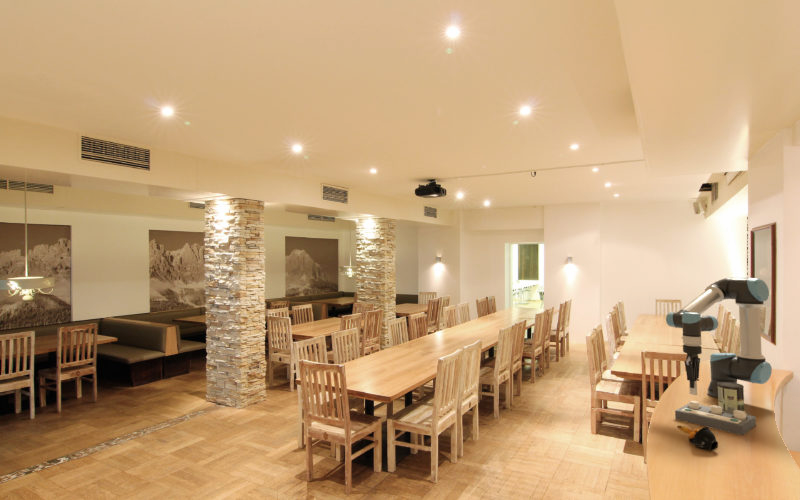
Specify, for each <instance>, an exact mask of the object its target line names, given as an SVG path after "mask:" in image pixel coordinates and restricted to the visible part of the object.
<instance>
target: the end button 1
mask: <svg viewBox="0 0 800 500" xmlns="http://www.w3.org/2000/svg"><path fill="white" fill-rule="evenodd" d="M688 404H689V408H692V409H697V410H699V409H700V405H701V404H700V402H699V401H698V400H697V401H696V400H689V401H688Z"/></svg>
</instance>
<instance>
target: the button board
mask: <svg viewBox="0 0 800 500" xmlns="http://www.w3.org/2000/svg"><path fill="white" fill-rule="evenodd" d="M674 412H675V413H674V414H675V418H674V419H675V420H678V421H682V422H686V423H689V424H690V423H691V424H694V425H698V424H699V425H698V426H702V425H703V426H702V427H706V426H707V427H708V428H709V429H715V430H720V431H723V432H727V433H731V434H735V435H739V436H744V435H745V434H747V433H748V432H749V431H751V430H752V429H753V428H755V427H756V426H757V423H756V422H757V420H756V416H755V415H750V414H746V420H742V419H737V418H734V412H732V411H727V410H722V414H721V415H719V414H715V413H711V409H710V406H709V405H708V406H707V405H703V404H700V409H699V410H697V409H692V408H689V403H687V404H685V405H683V406H681V407H679V408H677V409H675V410H674Z"/></svg>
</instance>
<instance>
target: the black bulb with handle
mask: <svg viewBox="0 0 800 500" xmlns="http://www.w3.org/2000/svg"><path fill="white" fill-rule="evenodd" d="M676 428H677V429H679V430H680V431H681V432H683V433H685V434H687V435H689V436H688V441H689V443H690V444H692V445H694V447H699V448H701V449H703V450H711V451H715V450H716V449H718V447H719V442H718V440H717V436H716V435H715V434H714V433H713V431H712V430H711V428H710V427H706V426H702V427H699V428H697V429H695V428H689V427H686V426H681V425H677V426H676Z"/></svg>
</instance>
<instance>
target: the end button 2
mask: <svg viewBox="0 0 800 500" xmlns="http://www.w3.org/2000/svg"><path fill="white" fill-rule="evenodd" d="M746 415H747V411H745V410H744V411H740V410H734V418H737V419H742V420H746Z"/></svg>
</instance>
